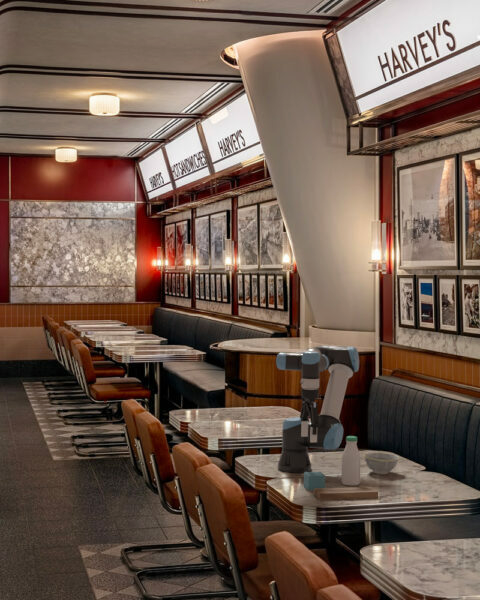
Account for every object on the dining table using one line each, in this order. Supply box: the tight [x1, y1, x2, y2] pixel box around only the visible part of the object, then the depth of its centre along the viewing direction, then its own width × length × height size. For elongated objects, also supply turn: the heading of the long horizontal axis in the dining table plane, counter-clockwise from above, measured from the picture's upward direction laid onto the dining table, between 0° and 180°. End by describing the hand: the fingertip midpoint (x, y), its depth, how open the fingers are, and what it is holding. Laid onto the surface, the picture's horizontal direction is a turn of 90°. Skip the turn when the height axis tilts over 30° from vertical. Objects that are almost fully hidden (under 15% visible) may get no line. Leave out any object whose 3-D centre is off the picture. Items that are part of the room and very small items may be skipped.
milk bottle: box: [340, 435, 361, 487], centre depth 372 cm, size 8×8×20 cm
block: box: [303, 471, 326, 491], centre depth 363 cm, size 7×7×6 cm
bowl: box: [363, 452, 400, 475], centre depth 395 cm, size 16×16×8 cm
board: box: [313, 486, 379, 501], centre depth 351 cm, size 8×24×2 cm, turn 102°
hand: (308, 439), depth 373 cm, fingers open, 12 cm apart
